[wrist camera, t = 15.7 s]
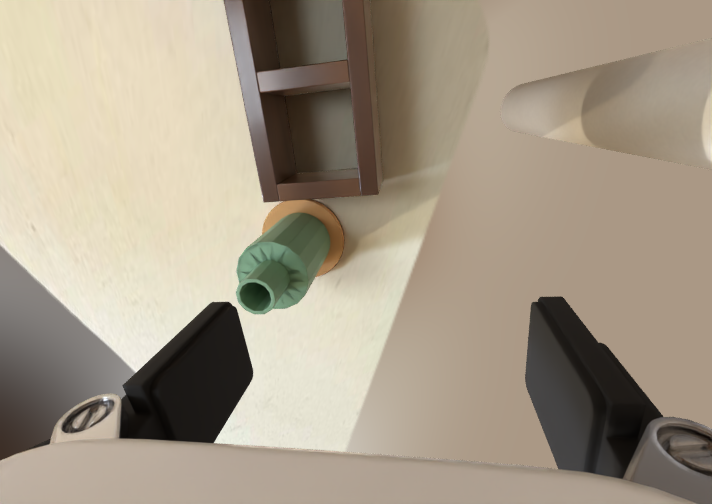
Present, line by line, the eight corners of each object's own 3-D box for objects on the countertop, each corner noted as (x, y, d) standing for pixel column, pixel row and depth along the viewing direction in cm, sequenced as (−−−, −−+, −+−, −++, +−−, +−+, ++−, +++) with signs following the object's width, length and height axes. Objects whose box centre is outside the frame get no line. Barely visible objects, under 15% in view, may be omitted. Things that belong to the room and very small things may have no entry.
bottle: (326, 210, 36) (287, 257, 24) (333, 265, 38) (301, 332, 27) (269, 214, 37) (207, 260, 26) (280, 267, 39) (226, 332, 28)
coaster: (339, 195, 36) (338, 196, 35) (348, 274, 39) (347, 276, 38) (256, 200, 37) (254, 202, 37) (272, 277, 41) (270, 279, 40)
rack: (366, -56, 28) (356, -97, 22) (383, 181, 35) (378, 194, 29) (247, -33, 30) (210, -66, 24) (285, 188, 36) (263, 202, 31)
